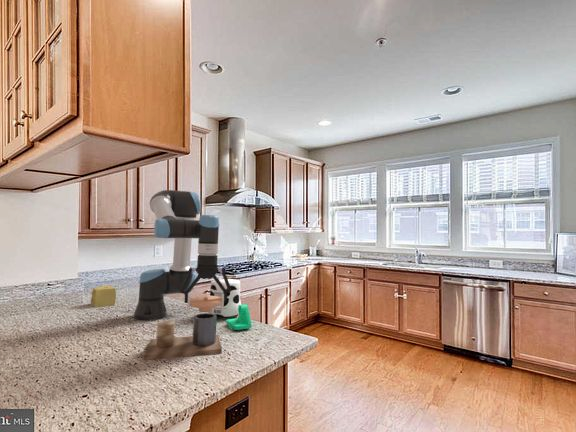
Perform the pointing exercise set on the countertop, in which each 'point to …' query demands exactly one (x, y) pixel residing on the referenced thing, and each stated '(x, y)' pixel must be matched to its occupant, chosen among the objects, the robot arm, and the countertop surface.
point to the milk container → (232, 298)
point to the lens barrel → (204, 329)
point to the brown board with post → (176, 344)
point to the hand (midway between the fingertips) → (205, 310)
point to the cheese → (103, 296)
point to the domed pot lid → (205, 302)
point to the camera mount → (240, 319)
